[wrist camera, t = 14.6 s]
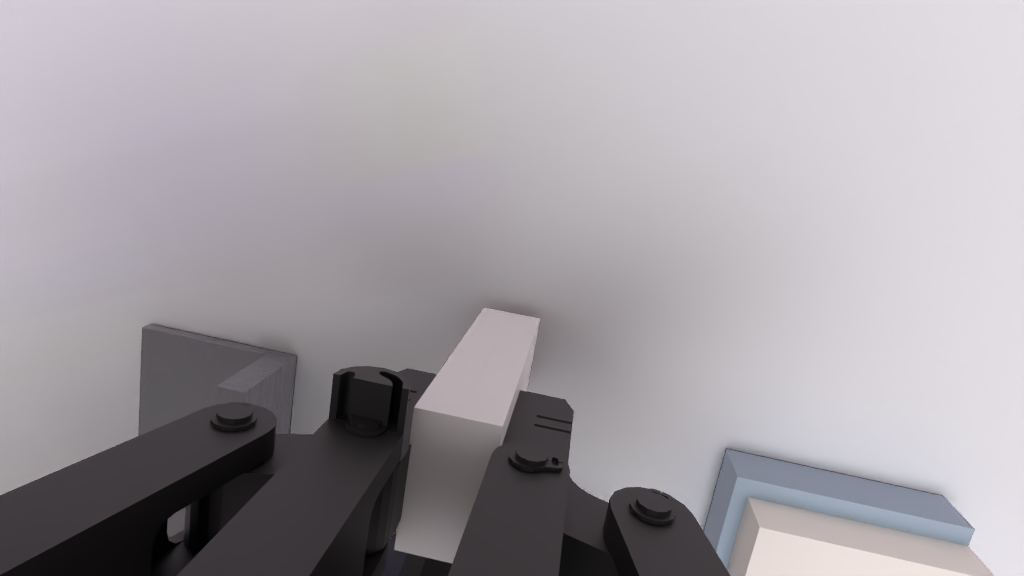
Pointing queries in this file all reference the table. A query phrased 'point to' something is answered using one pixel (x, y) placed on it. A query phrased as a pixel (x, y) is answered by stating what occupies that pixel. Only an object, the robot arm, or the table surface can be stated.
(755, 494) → the sharpening stone
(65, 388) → the table surface
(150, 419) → the bookend
